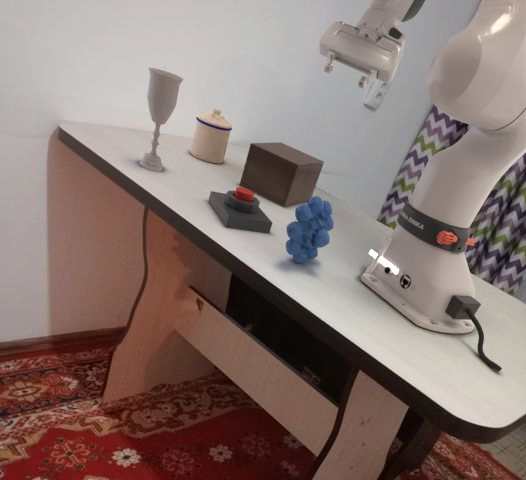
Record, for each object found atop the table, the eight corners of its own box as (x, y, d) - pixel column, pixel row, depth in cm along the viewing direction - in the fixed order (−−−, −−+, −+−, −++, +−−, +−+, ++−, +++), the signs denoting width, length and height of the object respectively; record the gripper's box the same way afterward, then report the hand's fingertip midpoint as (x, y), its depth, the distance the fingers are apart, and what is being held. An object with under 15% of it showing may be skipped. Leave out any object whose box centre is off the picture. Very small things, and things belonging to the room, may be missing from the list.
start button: (254, 204, 88) (257, 195, 87) (237, 201, 86) (239, 192, 85) (248, 197, 90) (250, 188, 89) (231, 194, 89) (233, 185, 88)
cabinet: (269, 180, 119) (280, 142, 114) (310, 200, 116) (324, 161, 111) (239, 185, 108) (250, 143, 103) (284, 207, 104) (298, 164, 99)
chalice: (163, 175, 97) (179, 81, 87) (131, 165, 96) (144, 68, 86) (170, 167, 103) (186, 78, 93) (139, 157, 102) (152, 66, 92)
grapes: (295, 279, 75) (321, 208, 68) (266, 259, 78) (289, 189, 71) (335, 270, 83) (362, 206, 76) (307, 252, 86) (331, 190, 79)
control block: (269, 233, 88) (275, 213, 86) (225, 227, 84) (231, 206, 82) (248, 208, 96) (254, 189, 94) (208, 201, 92) (212, 181, 90)
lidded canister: (230, 166, 119) (242, 118, 113) (199, 162, 114) (210, 111, 107) (207, 149, 126) (218, 104, 120) (178, 145, 121) (187, 96, 114)
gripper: (335, 7, 112) (306, 50, 110) (412, 39, 108) (383, 84, 106) (334, 30, 118) (306, 71, 116) (406, 61, 114) (379, 104, 112)
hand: (343, 78), depth 111 cm, fingers open, 8 cm apart
